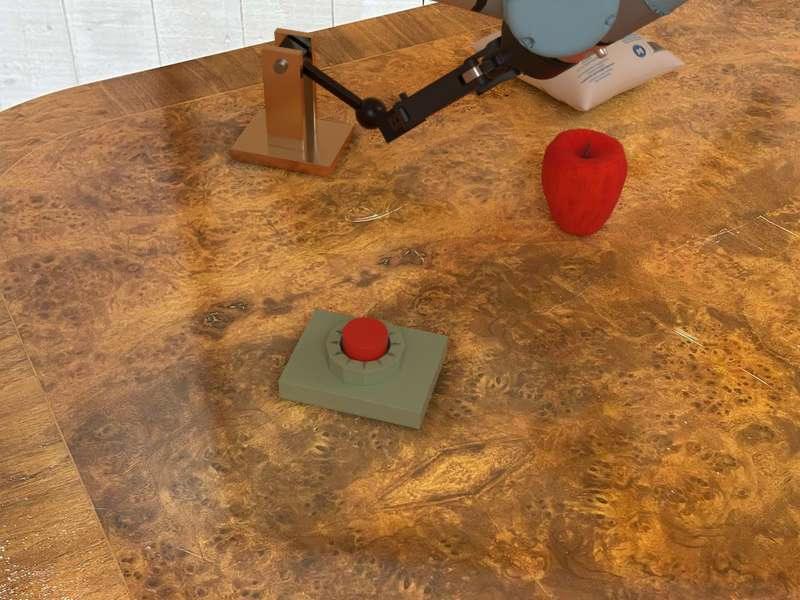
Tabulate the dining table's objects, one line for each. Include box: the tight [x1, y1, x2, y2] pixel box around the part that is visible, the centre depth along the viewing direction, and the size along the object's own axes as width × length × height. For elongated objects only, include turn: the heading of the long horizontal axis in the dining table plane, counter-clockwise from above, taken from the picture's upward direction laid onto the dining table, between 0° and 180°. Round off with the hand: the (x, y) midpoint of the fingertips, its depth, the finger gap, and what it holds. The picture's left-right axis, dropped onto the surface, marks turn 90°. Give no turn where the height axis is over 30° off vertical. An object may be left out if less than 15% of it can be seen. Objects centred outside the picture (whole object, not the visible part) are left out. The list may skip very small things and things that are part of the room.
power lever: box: [278, 36, 388, 131], centre depth 118 cm, size 14×4×4 cm, turn 75°
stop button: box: [343, 316, 388, 362], centre depth 95 cm, size 4×4×2 cm
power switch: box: [230, 27, 355, 178], centre depth 121 cm, size 12×9×14 cm
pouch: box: [468, 29, 686, 112], centre depth 135 cm, size 8×19×20 cm
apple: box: [540, 128, 629, 237], centre depth 111 cm, size 9×9×11 cm
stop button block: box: [277, 307, 449, 430], centre depth 96 cm, size 13×10×4 cm
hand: (430, 106), depth 112 cm, fingers open, 13 cm apart
